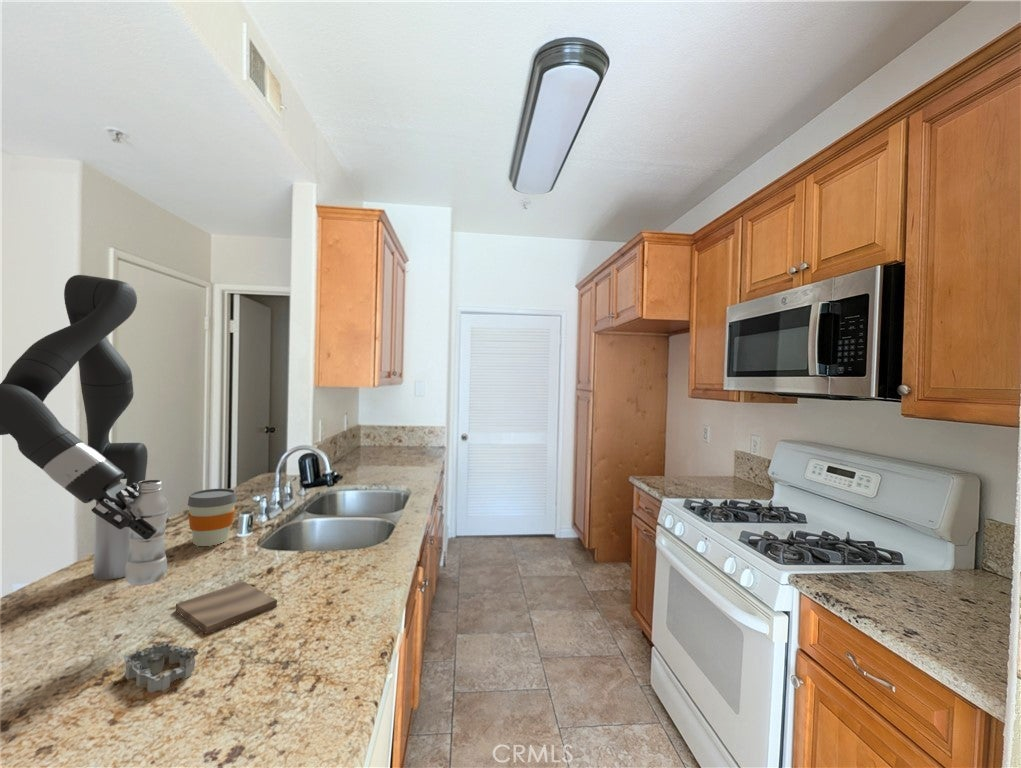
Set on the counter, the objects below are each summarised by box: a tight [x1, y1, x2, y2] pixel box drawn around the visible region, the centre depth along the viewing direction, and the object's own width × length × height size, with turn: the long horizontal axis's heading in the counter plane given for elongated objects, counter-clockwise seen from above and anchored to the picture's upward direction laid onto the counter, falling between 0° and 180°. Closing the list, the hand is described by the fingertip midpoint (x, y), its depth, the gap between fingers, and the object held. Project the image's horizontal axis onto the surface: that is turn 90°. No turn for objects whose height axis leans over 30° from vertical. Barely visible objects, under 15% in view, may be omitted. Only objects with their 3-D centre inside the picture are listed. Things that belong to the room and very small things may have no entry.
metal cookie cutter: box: [122, 641, 199, 694], centre depth 76 cm, size 11×8×4 cm
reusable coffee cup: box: [187, 487, 237, 547], centre depth 137 cm, size 13×13×15 cm
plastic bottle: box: [124, 479, 170, 586], centre depth 88 cm, size 6×7×20 cm
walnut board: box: [175, 581, 278, 634], centre depth 98 cm, size 15×14×2 cm
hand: (158, 529), depth 88 cm, fingers closed on plastic bottle, 6 cm apart
